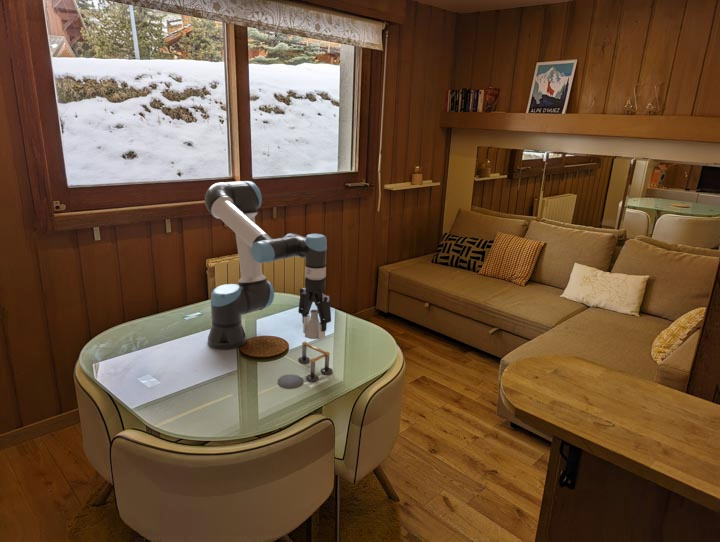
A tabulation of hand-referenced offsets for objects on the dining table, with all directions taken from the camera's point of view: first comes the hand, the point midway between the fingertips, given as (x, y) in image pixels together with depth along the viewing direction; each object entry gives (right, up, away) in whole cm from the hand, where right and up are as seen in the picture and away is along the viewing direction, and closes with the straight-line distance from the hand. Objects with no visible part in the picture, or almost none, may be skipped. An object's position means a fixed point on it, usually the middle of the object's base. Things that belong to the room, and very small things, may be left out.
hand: (314, 335), depth 185 cm
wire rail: (-2, -13, 0) cm, 13 cm away
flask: (0, 0, 0) cm, 0 cm away
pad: (-8, -15, -9) cm, 19 cm away
